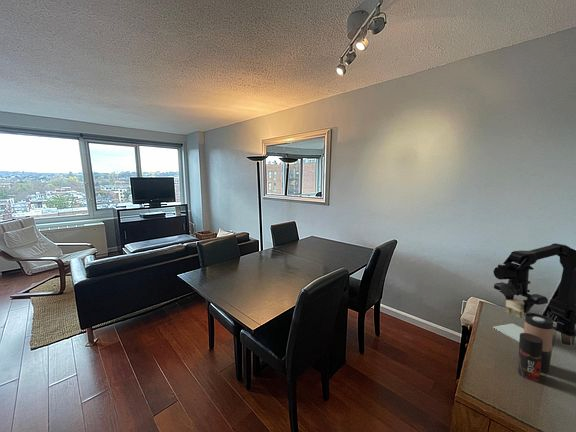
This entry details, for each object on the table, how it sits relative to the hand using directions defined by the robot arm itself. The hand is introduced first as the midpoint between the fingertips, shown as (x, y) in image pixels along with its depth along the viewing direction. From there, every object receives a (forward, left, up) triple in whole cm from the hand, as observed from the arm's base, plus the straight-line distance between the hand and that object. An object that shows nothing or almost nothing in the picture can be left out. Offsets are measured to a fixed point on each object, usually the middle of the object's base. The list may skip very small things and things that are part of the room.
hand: (517, 309), depth 112 cm
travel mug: (+16, +18, -12) cm, 27 cm away
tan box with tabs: (0, 0, -2) cm, 2 cm away
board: (0, 0, -12) cm, 12 cm away
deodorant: (+24, +21, -12) cm, 34 cm away
